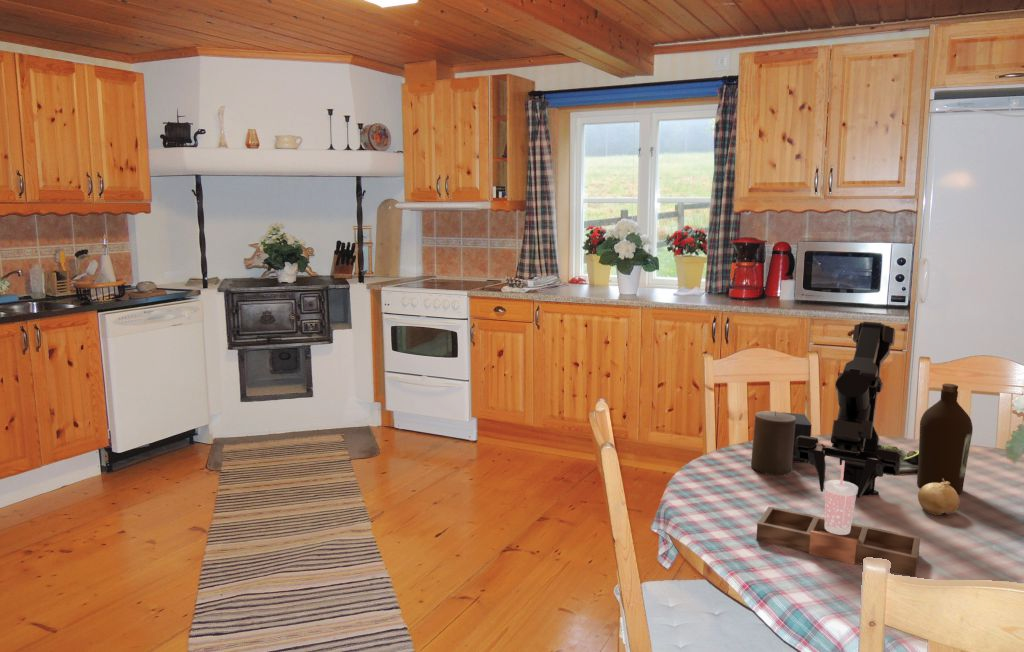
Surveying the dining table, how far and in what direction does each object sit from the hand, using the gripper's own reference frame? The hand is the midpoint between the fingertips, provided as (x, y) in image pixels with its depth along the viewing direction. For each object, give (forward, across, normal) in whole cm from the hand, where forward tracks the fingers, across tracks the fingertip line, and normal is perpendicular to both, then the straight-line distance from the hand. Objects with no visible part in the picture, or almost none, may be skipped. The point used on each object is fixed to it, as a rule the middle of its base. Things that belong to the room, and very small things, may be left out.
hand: (839, 494), depth 146 cm
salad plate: (-34, +5, +52) cm, 63 cm away
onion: (-14, +16, +31) cm, 37 cm away
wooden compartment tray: (+7, 0, +9) cm, 11 cm away
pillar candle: (-20, -20, +37) cm, 46 cm away
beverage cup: (+5, 0, +6) cm, 8 cm away
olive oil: (-25, +16, +42) cm, 51 cm away
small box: (-29, -18, +46) cm, 57 cm away
